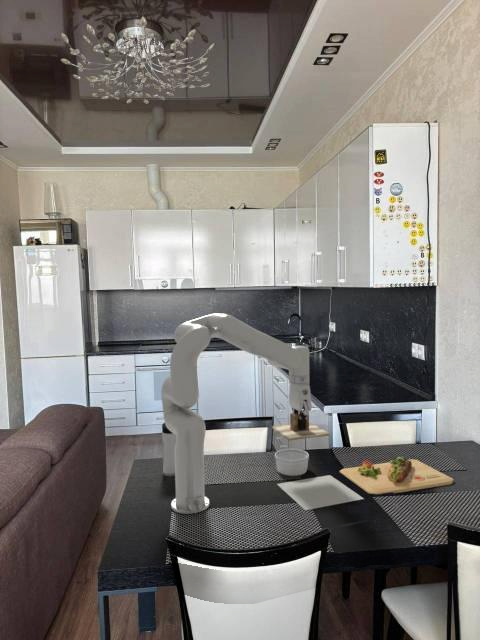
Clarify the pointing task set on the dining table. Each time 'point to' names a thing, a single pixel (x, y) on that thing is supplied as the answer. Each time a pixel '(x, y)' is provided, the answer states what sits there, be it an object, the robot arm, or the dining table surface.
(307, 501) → the rubber mat
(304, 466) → the ramekin
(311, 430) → the oak lid
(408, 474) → the cutting board
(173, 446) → the travel mug
